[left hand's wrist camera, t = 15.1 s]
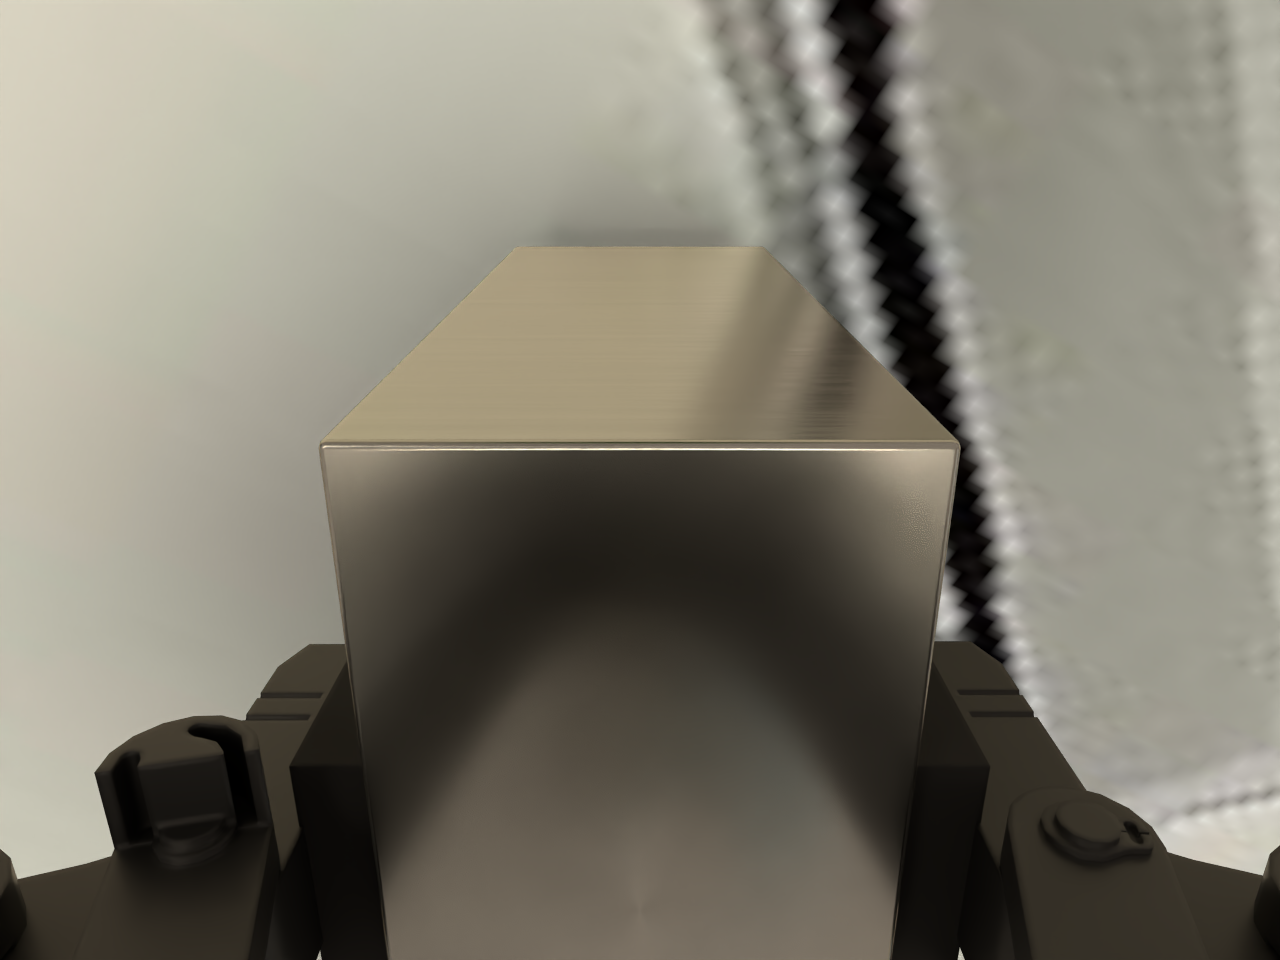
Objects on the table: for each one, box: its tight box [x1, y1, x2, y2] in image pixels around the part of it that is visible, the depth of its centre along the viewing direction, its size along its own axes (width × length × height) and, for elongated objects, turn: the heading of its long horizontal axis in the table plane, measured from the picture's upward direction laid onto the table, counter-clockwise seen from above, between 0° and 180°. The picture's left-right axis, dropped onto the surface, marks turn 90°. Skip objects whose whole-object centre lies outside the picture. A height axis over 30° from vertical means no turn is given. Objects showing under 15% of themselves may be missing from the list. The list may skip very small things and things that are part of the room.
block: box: [319, 247, 960, 960], centre depth 14 cm, size 5×9×11 cm, turn 0°
